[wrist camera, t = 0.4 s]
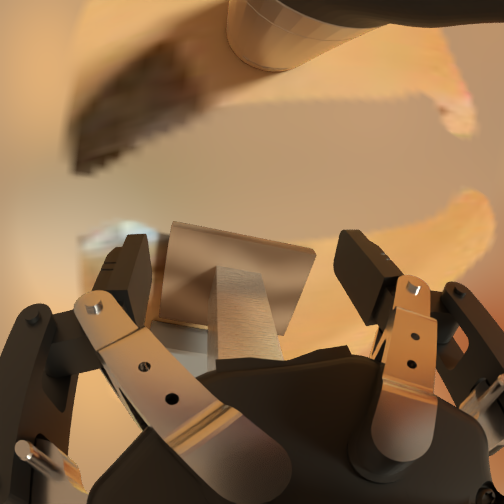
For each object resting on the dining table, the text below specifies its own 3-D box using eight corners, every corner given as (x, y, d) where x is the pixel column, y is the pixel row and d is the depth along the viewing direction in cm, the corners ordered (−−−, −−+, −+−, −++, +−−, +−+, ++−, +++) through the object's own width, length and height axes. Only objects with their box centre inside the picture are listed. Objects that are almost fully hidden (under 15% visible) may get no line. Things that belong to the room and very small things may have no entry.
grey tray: (152, 320, 36) (146, 344, 32) (256, 336, 39) (260, 360, 35) (148, 384, 42) (144, 406, 38) (233, 396, 45) (235, 418, 41)
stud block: (173, 220, 31) (165, 242, 26) (312, 249, 34) (328, 273, 29) (160, 309, 36) (154, 339, 31) (281, 328, 39) (289, 357, 34)
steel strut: (216, 265, 32) (218, 361, 20) (261, 273, 33) (285, 368, 21) (208, 302, 34) (207, 401, 22) (249, 309, 35) (266, 405, 23)
